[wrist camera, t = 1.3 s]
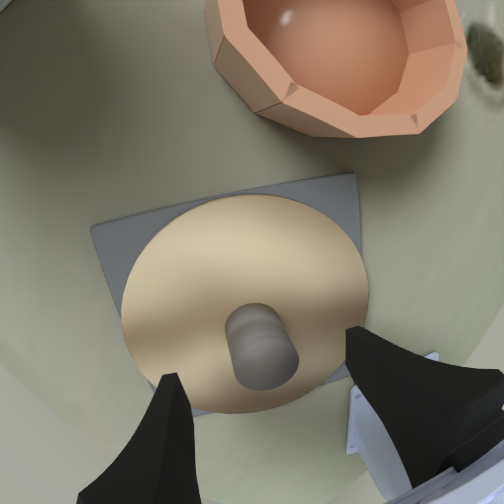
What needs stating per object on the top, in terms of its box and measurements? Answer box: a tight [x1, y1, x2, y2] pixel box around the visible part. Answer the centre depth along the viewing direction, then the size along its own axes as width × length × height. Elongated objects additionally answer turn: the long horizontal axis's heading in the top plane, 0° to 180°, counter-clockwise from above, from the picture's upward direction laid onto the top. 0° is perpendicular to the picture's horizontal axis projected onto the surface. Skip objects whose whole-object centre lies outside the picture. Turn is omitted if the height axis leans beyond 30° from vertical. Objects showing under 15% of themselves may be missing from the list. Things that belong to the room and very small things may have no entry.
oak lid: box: [121, 193, 369, 414], centre depth 15 cm, size 13×13×4 cm
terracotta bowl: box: [204, 0, 467, 138], centre depth 11 cm, size 11×11×4 cm
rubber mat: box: [90, 172, 362, 416], centre depth 17 cm, size 13×13×1 cm
